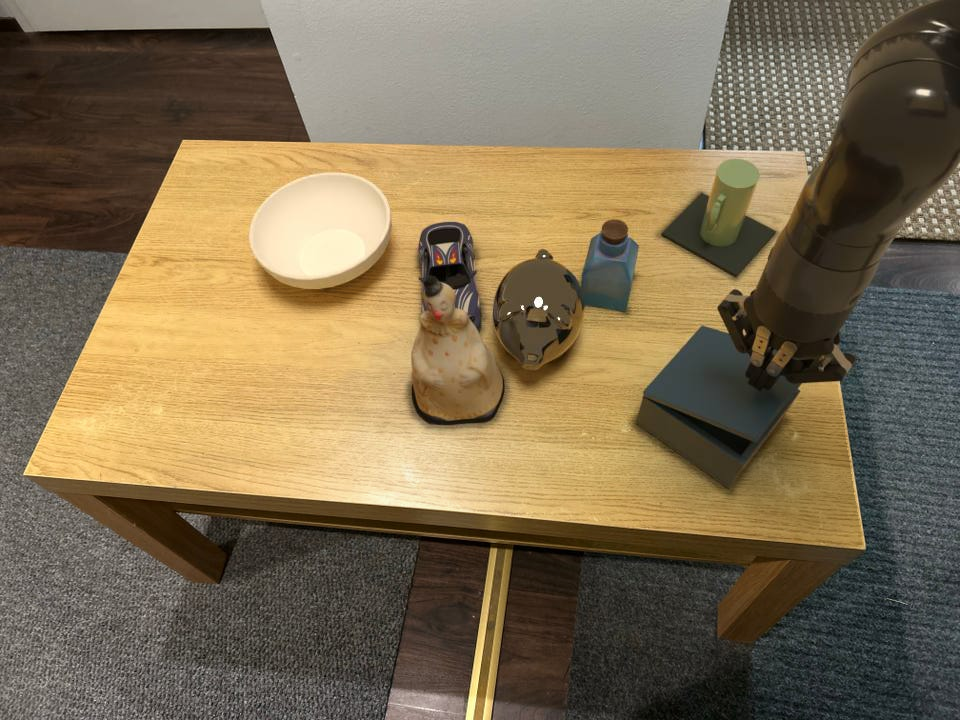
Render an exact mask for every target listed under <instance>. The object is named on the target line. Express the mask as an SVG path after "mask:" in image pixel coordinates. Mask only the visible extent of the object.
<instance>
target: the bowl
mask: <svg viewBox="0 0 960 720" xmlns="http://www.w3.org/2000/svg"><path fill="white" fill-rule="evenodd" d="M392 226H393V221H392V212H391V207H390V204H389V202H388V198H387V196H386V195H385V194H384V192H383V191H382V190H381V188H380V187H378V186H377V185H375V183H373V182H371V181H370V180H368V179H367V178H365V177H362V176H359V175H355V174H352V173H347V172H339V171H337V172H335V171H334V172H332V171H328V172H327V171H326V172H320V173H319V172H318V173H312V174H309V175H305V176H303V177H299V178H297V179H294V180H292V181H289V182H287V183H286V184H285V185H283V186H281V187H279V188H277V189H276V190H275V191H274V192H273V193H271V194H270V195H269V196H268V197H267V198H266V199H264V201H263V202H262V203H261V204H260V205H259V207H258V208H257V210H256V211H255V213H254V215H253V216H252V220H251V222H250V226H249V231H248V242H249V247H250V250H251V252H252V255H253V256H254V258H255V260H256V261H257V263H258V265H260V266H261V267H262V268H263V269H264V271H265V272H266V273H268V274H269V275H270V276H271V277H273V278H274V279H276V280H277V281H278V282H280V283H283V284H285V285H287V286H290V287H293V288H299V289H303V290H304V289H305V290H318V289H319V290H320V289H327V288H333V287H336V286H339V285H343V284H345V283H348V282H350V281H352V280H355V279H357V278H358V277H360V276H361V275H362V274H364V273H366V272H367V271H369V270H370V269H371V268H372V267H373V266H374V265H375V264H376V263H377V262H378V261H379V260H380V259H381V257H382V256H383V254H384V253H385V251H386V249H387V247H388V245H389V243H390V239H391V234H392Z"/></svg>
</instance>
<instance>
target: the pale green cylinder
mask: <svg viewBox="0 0 960 720" xmlns="http://www.w3.org/2000/svg"><path fill="white" fill-rule="evenodd" d="M760 177H761V175H760V171H759V168H758V167H757V166H756V165H755V164H753V162H750V161H749V160H746V159H743V158H731V159H727V160H724V161H723V162H721V163H720V164H719V165H718V166H717V169H716V172H715V175H714V179H713V182H712V186H711V190H710V192H709V195H708V196H709V200H708V203H707V207H706V210H705V214H704V217H703V221H702V224H701V228H700V234H701V237H702V238H703V239H704V240H705V241H706V242H707V243H709V244H711V245H713V246H718V247H724V246H729V245H731V244H733V243H734V242H735V241H736V240H737V238H738V236H739V233H740V230H741V227H742V225H743V222H744V219H745V216H747V214H748V211H749V208H750V205H751V202H752V199H753V197H754V194H755V191H756V189H757V186H758V183H759V180H760Z"/></svg>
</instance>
